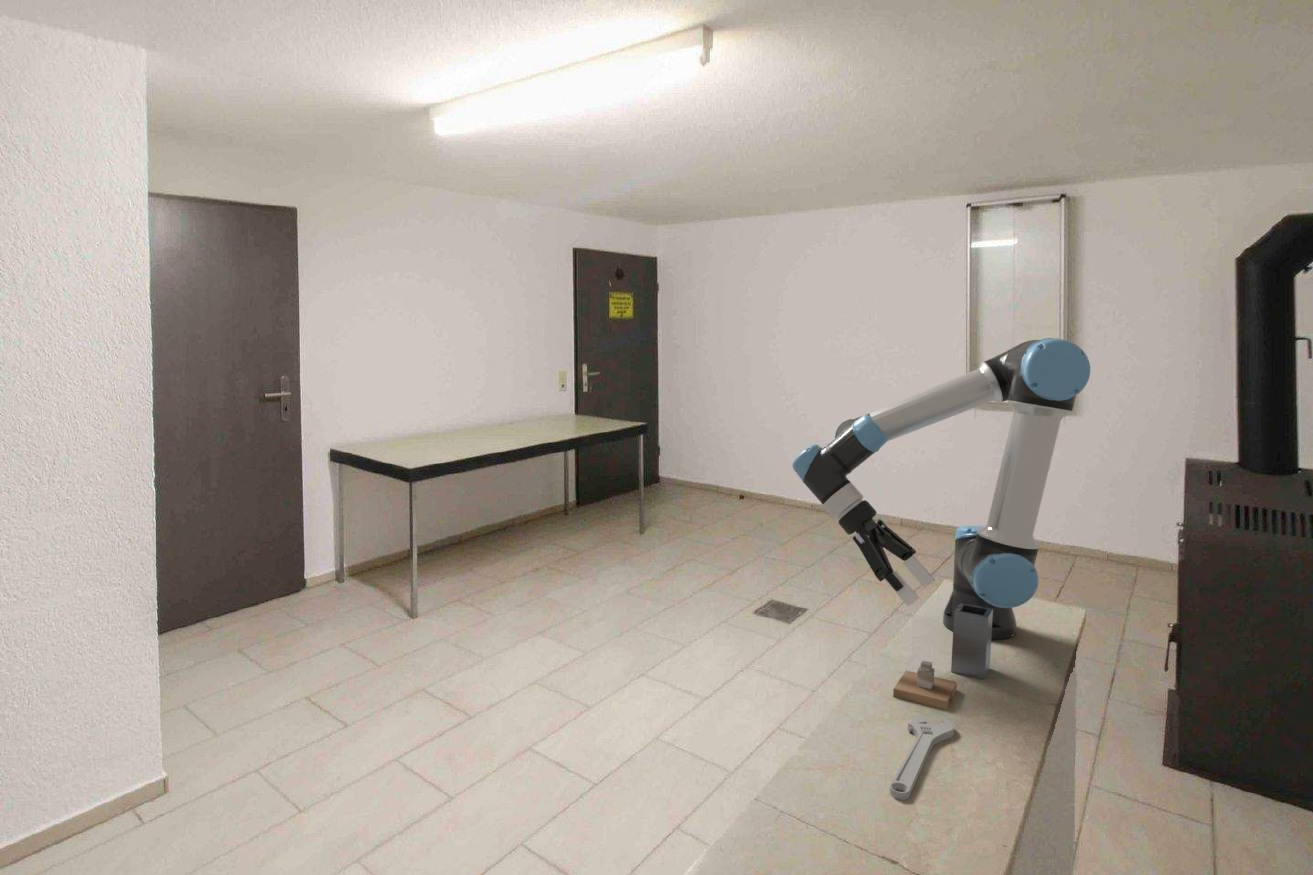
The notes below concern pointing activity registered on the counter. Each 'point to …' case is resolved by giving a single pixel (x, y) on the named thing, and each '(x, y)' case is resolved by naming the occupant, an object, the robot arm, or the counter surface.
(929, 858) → the counter surface
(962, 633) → the grey square tube
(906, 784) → the adjustable wrench
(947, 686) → the drive block
